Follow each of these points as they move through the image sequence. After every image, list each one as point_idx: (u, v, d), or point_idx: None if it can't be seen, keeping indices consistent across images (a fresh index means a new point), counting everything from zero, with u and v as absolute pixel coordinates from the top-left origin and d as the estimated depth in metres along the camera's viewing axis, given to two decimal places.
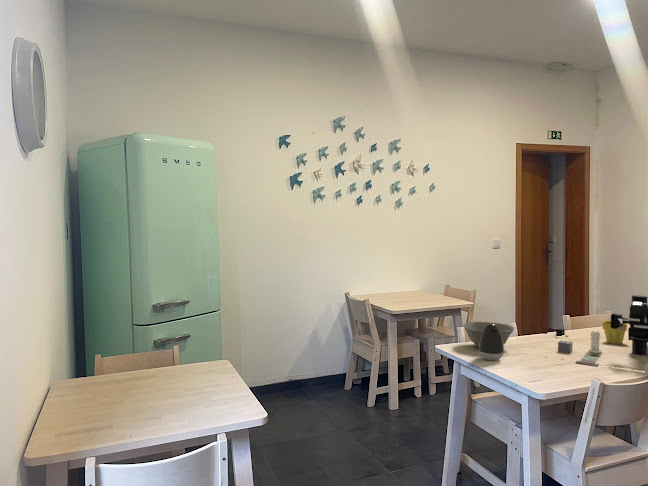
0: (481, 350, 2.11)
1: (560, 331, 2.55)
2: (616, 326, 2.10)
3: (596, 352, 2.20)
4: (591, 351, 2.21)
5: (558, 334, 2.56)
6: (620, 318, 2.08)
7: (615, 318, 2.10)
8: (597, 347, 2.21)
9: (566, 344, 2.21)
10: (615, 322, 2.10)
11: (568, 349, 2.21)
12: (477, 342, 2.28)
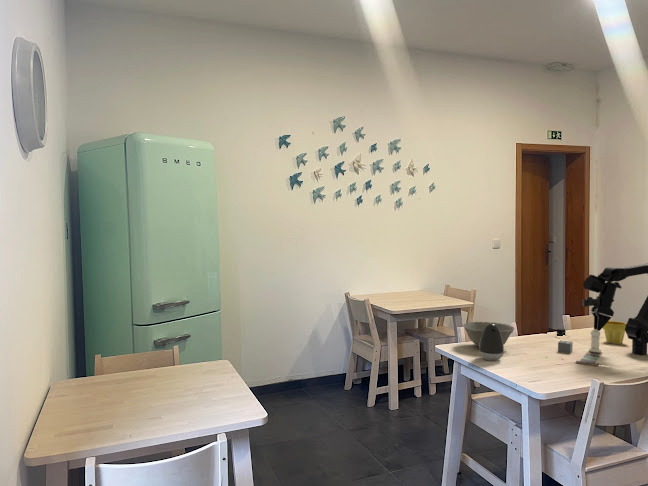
0: (481, 350, 2.11)
1: (561, 331, 2.55)
2: None
3: (596, 351, 2.20)
4: (591, 350, 2.21)
5: (559, 334, 2.56)
6: None
7: None
8: (597, 346, 2.21)
9: (566, 344, 2.21)
10: None
11: (568, 349, 2.21)
12: (477, 342, 2.28)
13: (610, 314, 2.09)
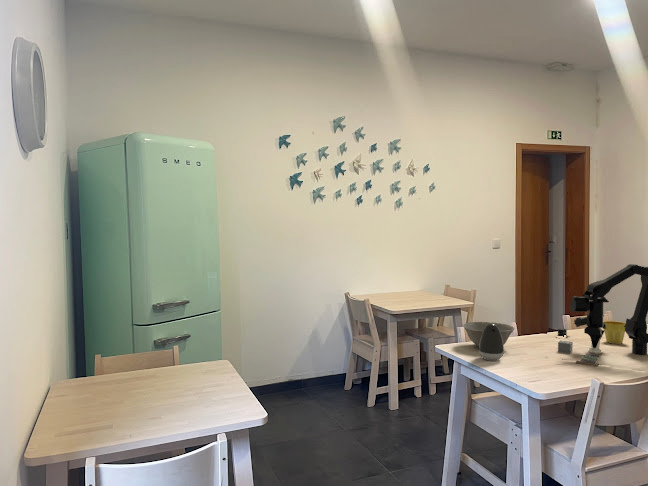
0: (481, 350, 2.11)
1: (562, 331, 2.55)
2: None
3: (596, 352, 2.20)
4: (591, 351, 2.21)
5: (560, 334, 2.56)
6: None
7: None
8: (597, 347, 2.21)
9: (566, 344, 2.21)
10: None
11: (568, 349, 2.21)
12: (477, 342, 2.28)
13: (597, 333, 2.13)
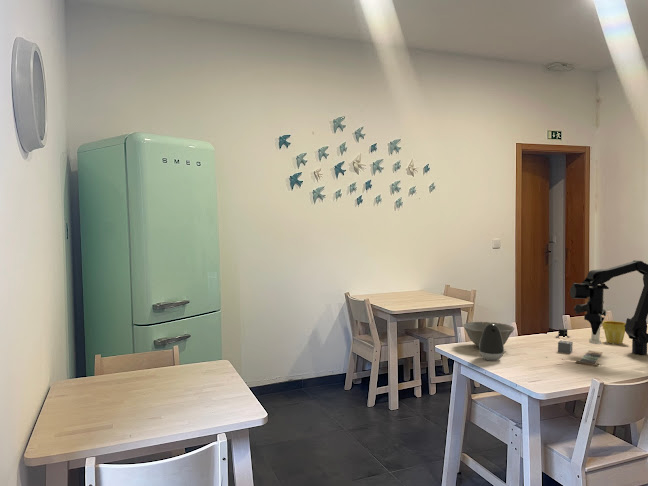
0: (481, 350, 2.11)
1: (562, 331, 2.55)
2: None
3: (596, 343, 2.20)
4: (591, 341, 2.21)
5: (560, 334, 2.55)
6: None
7: None
8: (597, 338, 2.20)
9: (566, 344, 2.21)
10: None
11: (568, 349, 2.21)
12: (477, 342, 2.28)
13: (597, 319, 2.13)
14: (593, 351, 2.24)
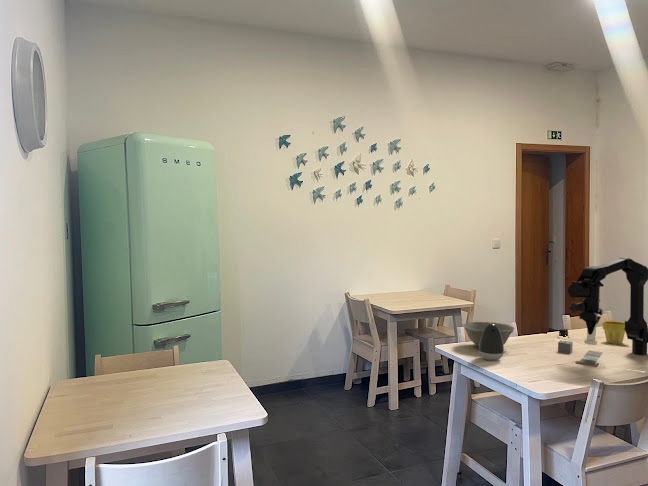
0: (481, 350, 2.11)
1: (563, 331, 2.55)
2: None
3: (592, 343, 2.10)
4: (587, 342, 2.11)
5: (561, 334, 2.55)
6: None
7: None
8: (593, 338, 2.11)
9: (566, 344, 2.21)
10: None
11: (568, 349, 2.21)
12: (477, 342, 2.28)
13: (592, 318, 2.04)
14: (593, 351, 2.24)
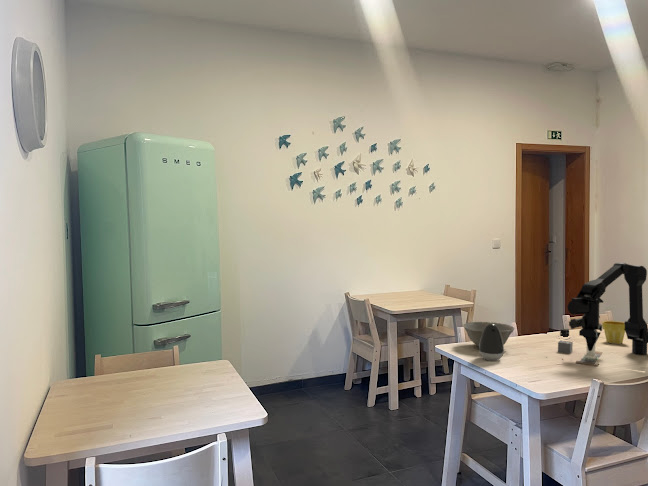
0: (481, 350, 2.11)
1: (564, 331, 2.54)
2: None
3: (592, 358, 2.10)
4: (587, 357, 2.12)
5: (562, 334, 2.55)
6: None
7: None
8: (593, 352, 2.11)
9: (566, 344, 2.21)
10: None
11: (568, 349, 2.21)
12: (477, 342, 2.28)
13: (592, 335, 2.04)
14: None
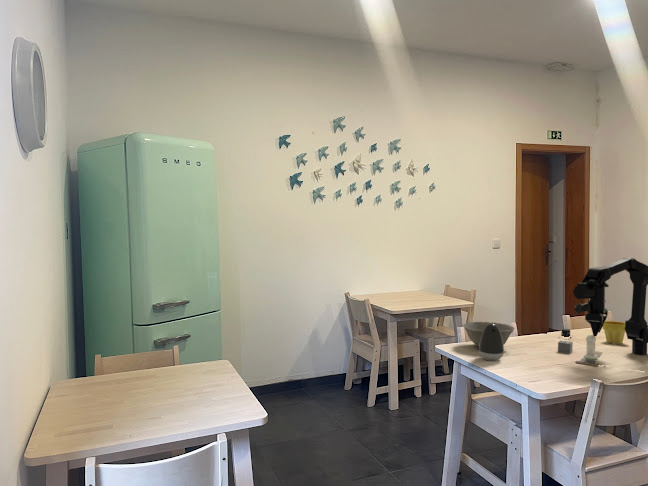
0: (481, 350, 2.11)
1: (565, 332, 2.54)
2: None
3: (592, 358, 2.10)
4: (587, 357, 2.12)
5: (563, 335, 2.55)
6: None
7: None
8: (593, 352, 2.11)
9: (566, 344, 2.21)
10: None
11: (568, 349, 2.21)
12: (477, 342, 2.28)
13: (598, 319, 2.04)
14: None
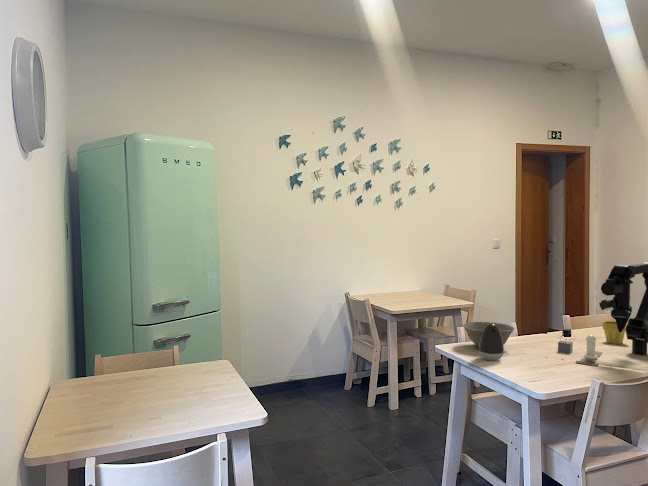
0: (481, 350, 2.11)
1: (566, 332, 2.54)
2: None
3: (592, 358, 2.10)
4: (587, 357, 2.12)
5: (564, 335, 2.54)
6: None
7: None
8: (593, 352, 2.11)
9: (566, 344, 2.21)
10: None
11: (568, 349, 2.21)
12: (477, 342, 2.28)
13: (624, 315, 2.06)
14: None
